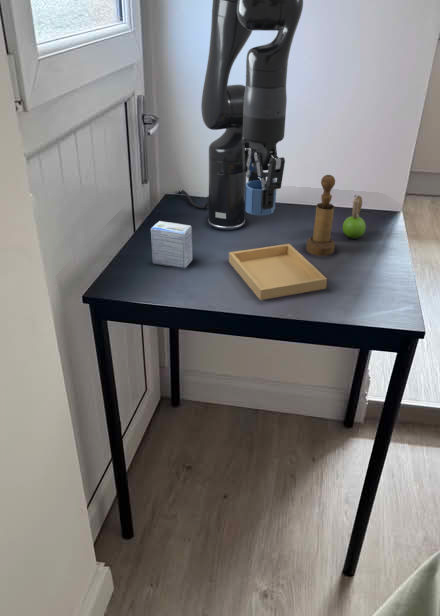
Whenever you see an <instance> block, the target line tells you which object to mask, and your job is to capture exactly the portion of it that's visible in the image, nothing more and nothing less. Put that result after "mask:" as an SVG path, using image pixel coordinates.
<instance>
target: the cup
mask: <svg viewBox="0 0 440 616" xmlns="http://www.w3.org/2000/svg"><path fill="white" fill-rule="evenodd" d="M266 183H267V180H266ZM261 195H262V184H261V179H260V180H255V181H250V182H248V181H247V182H246V186H245V213H248V214H250V215H253V216H268V215H271V214H273V213H274V212H275V209H276V199H277V189H275V190H274V200H273V207H272V208H271V209H263V208H262V207H261Z"/></svg>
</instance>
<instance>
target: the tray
mask: <svg viewBox="0 0 440 616" xmlns="http://www.w3.org/2000/svg"><path fill="white" fill-rule="evenodd" d="M228 262H229V263H230V265H231V266H232V268H233V269H234V270H235V271H236V273H237V274H238V275H239V276H240V277H241V278H242V280H243V281H244V282H245V283H246V285H247V286H248V287H249V288H250V290H251V291H252V292H253V293H254V294H255V295H256V297H257V298H258V299H259V301H264V300H268V299H274V298H280V297H285V296H292V295H297V294H304V293H307V292H308V293H309V292H314V291H320V290H325V289H327V284H328V278H327V277H326V276H325V275H324V274H323V273H322V272H321V271H320V270H318V269H317V267H315V266H314V265H313V264H312V263H311V262H310V261H309V260H308V259H307V258H305V257H304V255H302V254H301V253H300V252H299V251H298V250H297V249H296V248H295V247H294V246H293V245H291V244H290V243H285V244H277V245H269V246H265V247H258V248H257V247H256V248H249V249H244V250H237V251H230V252H228Z"/></svg>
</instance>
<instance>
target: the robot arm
mask: <svg viewBox="0 0 440 616" xmlns="http://www.w3.org/2000/svg"><path fill="white" fill-rule="evenodd" d="M211 6H212V7H211V25H210V36H209V37H210V38H209V48H208V56H207V64H206V69H205V77H204V81H203V88H202V94H201V105H200V106H201V109H200V110H201V111H200V112H201V118H202V121H203V124H204V125H205V127H206V128H208V129H209V130H210V131H211V130H213V131H217V130H219V131H220V130H224V132H223V133H222V134H221V135H220V136H219V137H217V138H216V139H215V140H213V141H212V142H211V143H210V144H209V145H208V195H207V196H206V202H205V204H204V205H200V204H198V203H196V202H194V200H193V198H191V196H190V195H189V194H188V193H187V191H185V190H184V189H181V190H182V191H181V192H180V190H179V191H178V192H177V194H178V195H181V194H182V195H184V196H185V197H186V199H187V200H188V201H189V203H190V204H191V205H192V206H193V207H195V208H197V209H200V210H205V209H207V208H208V217H207V224H208V226H210V227H211V228H213V229H216V230H220V231H233V230H238V229H241V228H243V227H244V226H245V224H246V219H245V218H246V211H245V186H246V183H248V182H250V181H255V180H261V184H262V195H261V207H262V208H263V209H271V208H272V207H273V200H274V190H275V189H276V190H280V189H282V184H283V175H284V171H285V164H286V159H285V157H284V156H283V157H279V156H278V150H277V144H278V143H280V142H281V141H283V140H284V138H285V129H286V118H287V117H286V116H287V115H286V114H287V103H288V102H287V100H288V97H287V79H288V65H289V57H290V56H289V55H290V52H291V48H292V44H293V41H294V37H295V35H296V32H297V28H298V25H299V23H300V20H301V16H302V14H303V8H304V0H212V5H211ZM253 31H254V32H255V31H257V32H259V31H261V32H262V31H263V32H264V31H267V32H268V31H269V32H270V31H271V32H272V31H273V32H275V31H277V34H276V36H275V37H274V38H273V40H272V41H270V42H268V43H265V44H262V45H258V46H254V47H251V48H250V49H248V51H247V54H246V59H245V60H246V61H245V63H246V64H245V84H244V85H243V84H230V85H228V84H229V78H230V74H231V71H232V69H233V68H232V67H233V66H234V63H235V62H236V59H237V58H238V56H239V54H240V53H241V51H242V50H243V48H244V47H245V45H246V43H247V42H248V40H249V38H250V37H251V35H252V33H253ZM265 171H266V172H265ZM247 179H248V180H247ZM266 181H267V183H266Z"/></svg>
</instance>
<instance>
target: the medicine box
mask: <svg viewBox="0 0 440 616" xmlns="http://www.w3.org/2000/svg"><path fill="white" fill-rule="evenodd" d="M192 232H193V229H192V226H191V225H190V224H189V225H188V224H182V223H177V222H168V221H162V220H159V221H157V222H156V223H155V224H154V225H152V227H151V228H150V237H151V238H150V239H151V240H150V241H151V255H152V264H153V265H160V266H164V267H165V266H166V267H178V268H184V269H186V268H187V267H188V266H189V264H190V263H191V262H192V261H193V233H192Z"/></svg>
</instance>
